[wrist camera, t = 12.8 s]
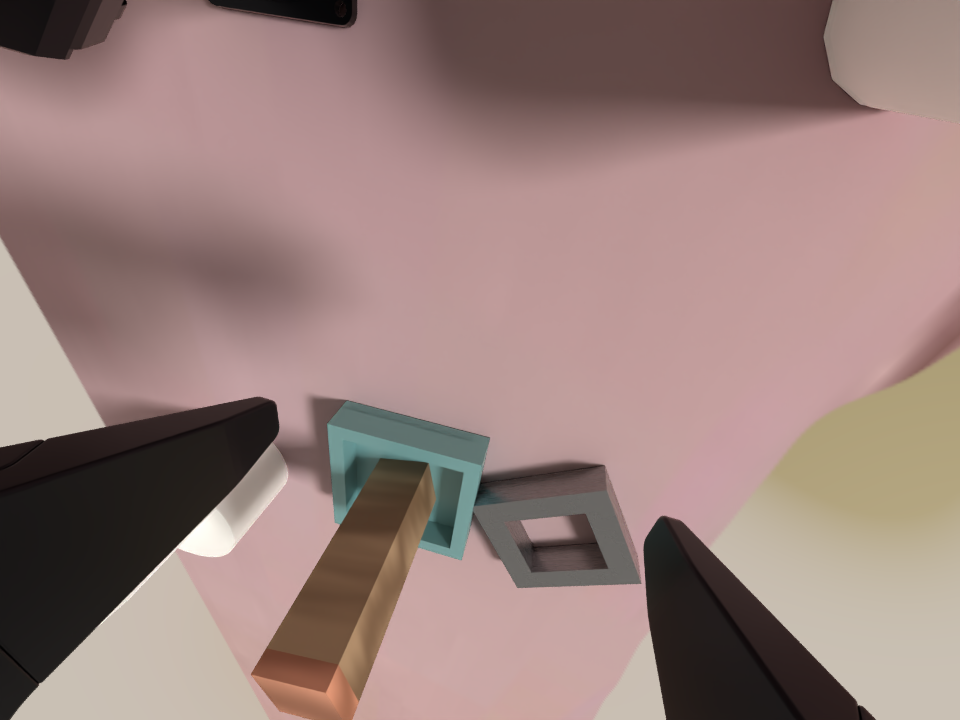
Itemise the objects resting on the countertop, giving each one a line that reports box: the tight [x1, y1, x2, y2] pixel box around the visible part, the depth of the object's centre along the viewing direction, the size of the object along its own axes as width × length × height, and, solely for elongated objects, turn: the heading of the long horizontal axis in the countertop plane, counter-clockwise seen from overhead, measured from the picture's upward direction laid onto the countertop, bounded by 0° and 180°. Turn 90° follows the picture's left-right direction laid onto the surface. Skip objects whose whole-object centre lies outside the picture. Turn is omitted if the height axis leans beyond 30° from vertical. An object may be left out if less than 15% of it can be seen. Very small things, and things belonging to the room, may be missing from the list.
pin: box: [251, 458, 436, 720], centre depth 23 cm, size 4×4×13 cm
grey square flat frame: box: [473, 466, 641, 588], centre depth 27 cm, size 9×9×2 cm
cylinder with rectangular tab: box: [101, 442, 288, 624], centre depth 27 cm, size 9×9×12 cm
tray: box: [327, 401, 490, 560], centre depth 28 cm, size 10×10×2 cm
